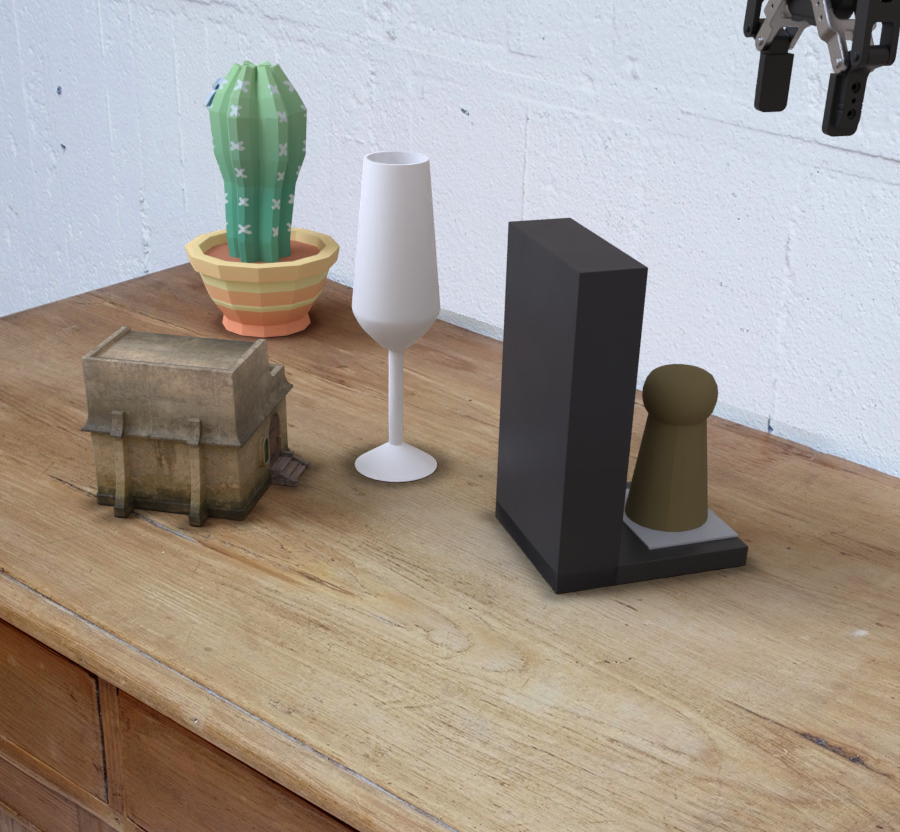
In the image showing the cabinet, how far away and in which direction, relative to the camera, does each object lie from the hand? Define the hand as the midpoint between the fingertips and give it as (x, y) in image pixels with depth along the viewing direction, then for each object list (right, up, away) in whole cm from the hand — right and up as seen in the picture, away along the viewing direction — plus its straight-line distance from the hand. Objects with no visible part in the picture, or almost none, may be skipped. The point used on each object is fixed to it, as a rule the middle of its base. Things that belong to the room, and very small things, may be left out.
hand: (802, 122), depth 87 cm
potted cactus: (-42, -3, +48) cm, 64 cm away
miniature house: (-42, -23, +16) cm, 50 cm away
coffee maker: (-12, -27, +8) cm, 31 cm away
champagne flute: (-28, -21, +19) cm, 40 cm away
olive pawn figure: (-8, -26, +9) cm, 28 cm away
